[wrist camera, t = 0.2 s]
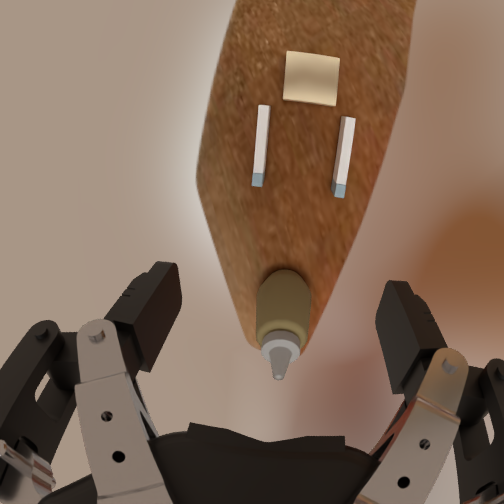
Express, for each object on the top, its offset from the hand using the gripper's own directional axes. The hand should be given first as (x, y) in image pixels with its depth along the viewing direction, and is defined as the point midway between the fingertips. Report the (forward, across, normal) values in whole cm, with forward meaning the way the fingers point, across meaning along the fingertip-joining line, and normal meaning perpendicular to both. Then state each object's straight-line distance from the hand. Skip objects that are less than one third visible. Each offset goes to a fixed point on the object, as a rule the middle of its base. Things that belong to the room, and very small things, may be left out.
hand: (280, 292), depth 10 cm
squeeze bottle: (+28, -1, +19) cm, 34 cm away
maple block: (+29, -2, -10) cm, 31 cm away
